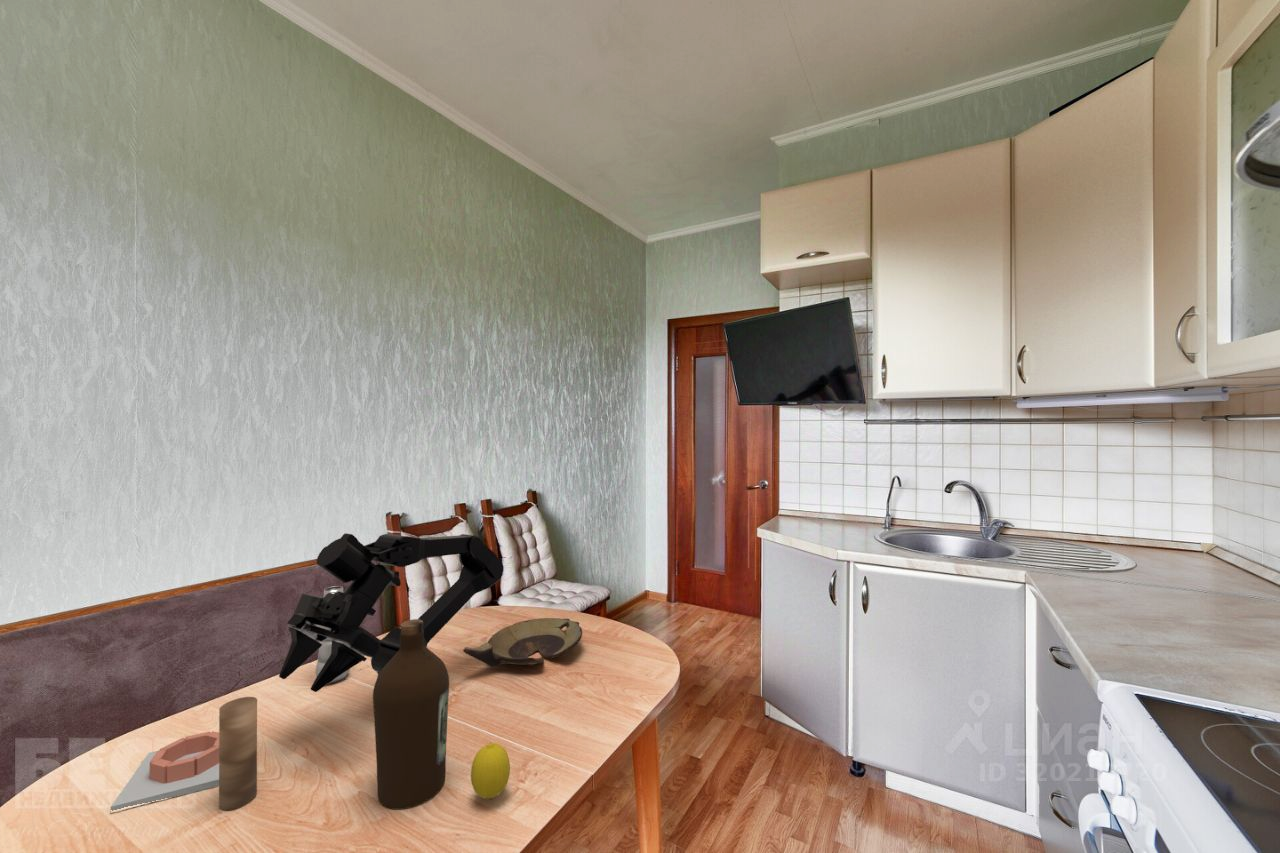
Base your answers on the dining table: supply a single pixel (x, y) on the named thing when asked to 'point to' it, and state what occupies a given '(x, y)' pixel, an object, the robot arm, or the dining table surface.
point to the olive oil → (411, 722)
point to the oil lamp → (528, 642)
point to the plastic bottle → (328, 642)
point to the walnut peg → (237, 753)
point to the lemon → (490, 770)
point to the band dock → (174, 771)
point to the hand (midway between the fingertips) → (296, 684)
